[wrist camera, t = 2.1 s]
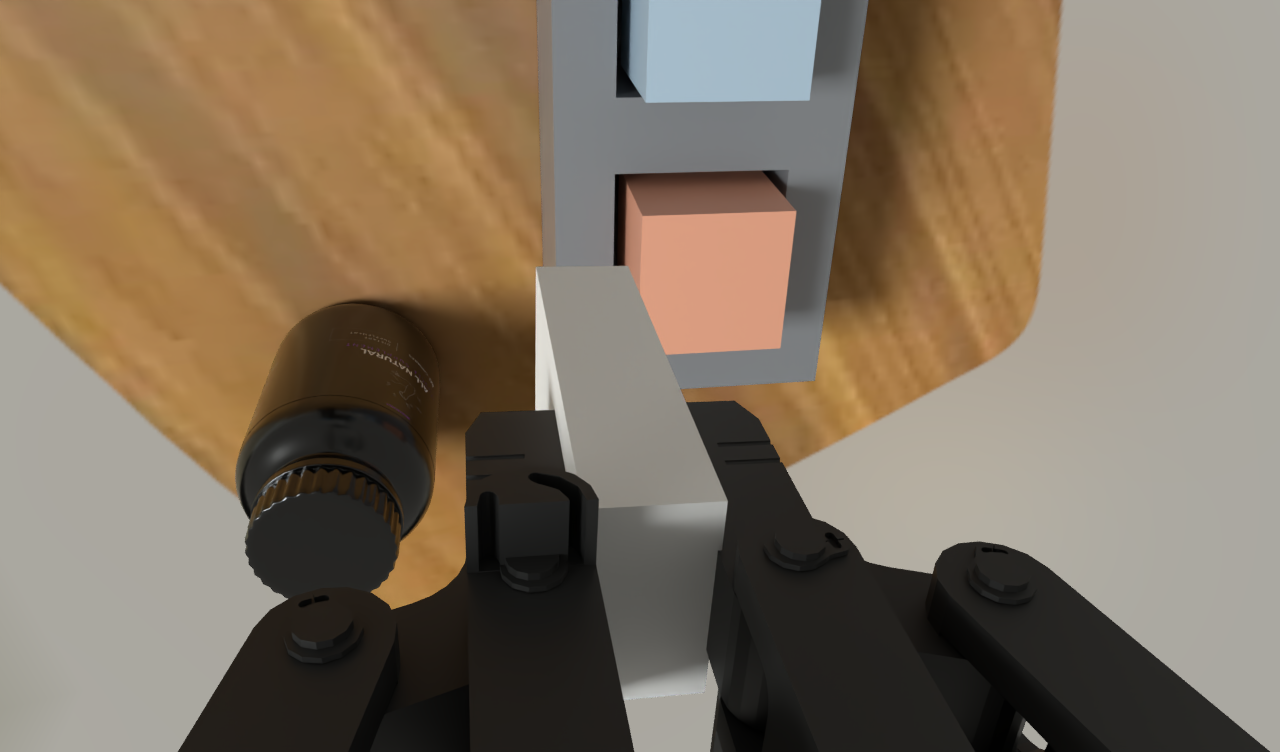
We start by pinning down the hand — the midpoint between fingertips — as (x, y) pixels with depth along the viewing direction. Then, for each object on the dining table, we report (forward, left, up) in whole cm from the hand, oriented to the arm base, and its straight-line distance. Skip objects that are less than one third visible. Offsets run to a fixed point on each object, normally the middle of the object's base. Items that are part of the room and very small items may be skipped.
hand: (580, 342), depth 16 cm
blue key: (-3, +6, -19) cm, 20 cm away
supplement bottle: (+13, -7, -23) cm, 27 cm away
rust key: (+6, +6, -19) cm, 20 cm away
